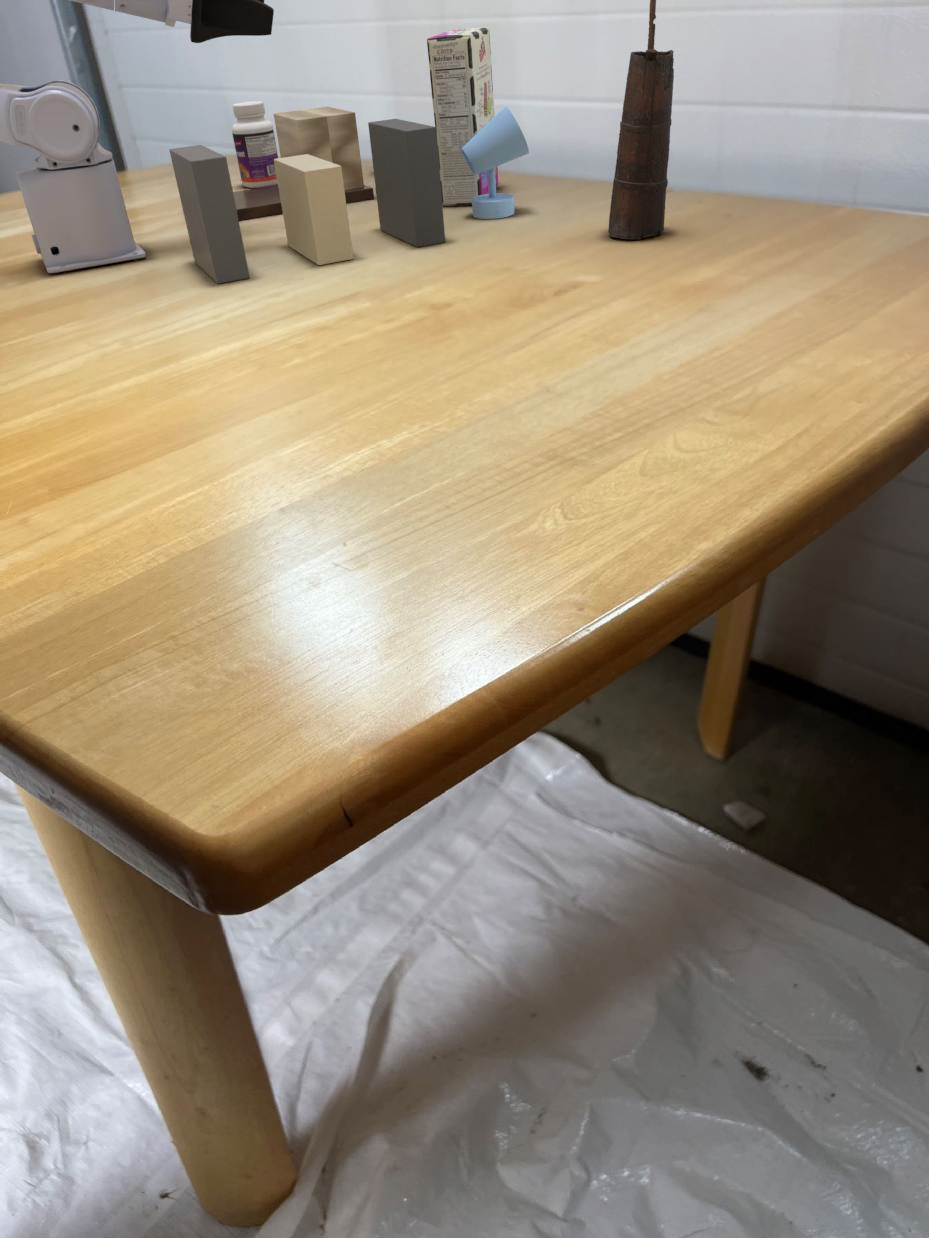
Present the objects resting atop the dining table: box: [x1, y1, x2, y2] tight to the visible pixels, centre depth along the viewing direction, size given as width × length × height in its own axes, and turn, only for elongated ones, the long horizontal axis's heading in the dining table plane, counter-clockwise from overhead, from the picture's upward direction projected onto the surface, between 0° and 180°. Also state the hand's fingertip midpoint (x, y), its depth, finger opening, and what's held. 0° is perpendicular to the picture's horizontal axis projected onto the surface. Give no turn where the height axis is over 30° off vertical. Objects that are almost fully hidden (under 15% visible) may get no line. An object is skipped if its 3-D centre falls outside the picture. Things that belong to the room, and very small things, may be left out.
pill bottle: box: [231, 100, 279, 189], centre depth 123 cm, size 5×5×10 cm
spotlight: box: [461, 105, 530, 220], centre depth 96 cm, size 5×10×7 cm
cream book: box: [274, 154, 354, 266], centre depth 88 cm, size 4×10×8 cm, turn 25°
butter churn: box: [607, 0, 675, 240], centre depth 78 cm, size 9×10×28 cm
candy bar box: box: [426, 26, 500, 207], centre depth 103 cm, size 11×5×16 cm, turn 168°
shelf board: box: [233, 106, 375, 221], centre depth 110 cm, size 20×12×9 cm, turn 115°
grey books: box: [169, 118, 446, 285], centre depth 87 cm, size 22×10×10 cm, turn 115°
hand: (268, 11), depth 88 cm, fingers open, 7 cm apart
